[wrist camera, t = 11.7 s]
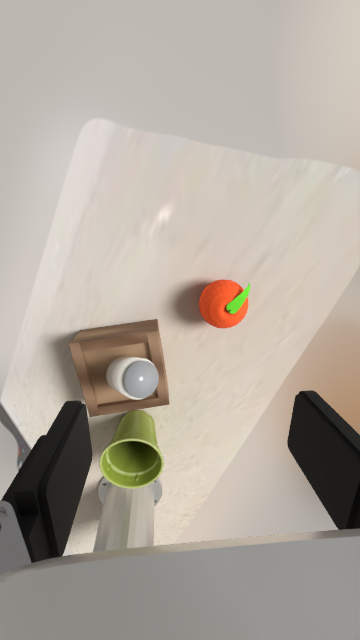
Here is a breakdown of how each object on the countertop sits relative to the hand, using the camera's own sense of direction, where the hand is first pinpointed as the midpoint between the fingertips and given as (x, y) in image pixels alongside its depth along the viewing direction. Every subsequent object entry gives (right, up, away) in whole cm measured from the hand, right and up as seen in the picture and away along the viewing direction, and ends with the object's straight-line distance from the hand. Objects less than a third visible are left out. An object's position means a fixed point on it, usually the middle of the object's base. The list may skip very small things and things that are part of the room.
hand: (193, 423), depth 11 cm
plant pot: (-8, -14, +34) cm, 38 cm away
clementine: (+6, +8, +28) cm, 30 cm away
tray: (-9, -2, +30) cm, 32 cm away
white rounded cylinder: (-8, -3, +24) cm, 25 cm away
